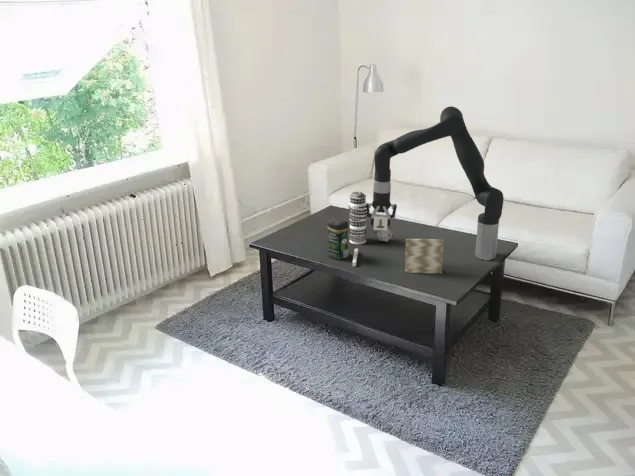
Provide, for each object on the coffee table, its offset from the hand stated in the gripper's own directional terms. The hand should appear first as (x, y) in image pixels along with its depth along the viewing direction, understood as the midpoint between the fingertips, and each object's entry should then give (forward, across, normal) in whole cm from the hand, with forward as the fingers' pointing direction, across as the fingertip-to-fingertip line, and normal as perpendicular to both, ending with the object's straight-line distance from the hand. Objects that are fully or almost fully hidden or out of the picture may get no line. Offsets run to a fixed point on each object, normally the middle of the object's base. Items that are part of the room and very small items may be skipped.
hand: (380, 225), depth 271 cm
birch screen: (+17, +20, -11) cm, 28 cm away
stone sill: (+17, -11, +1) cm, 20 cm away
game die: (+17, +2, +24) cm, 29 cm away
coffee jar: (+18, -19, +4) cm, 26 cm away
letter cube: (+1, 0, 0) cm, 1 cm away
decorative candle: (+17, -11, +24) cm, 31 cm away
